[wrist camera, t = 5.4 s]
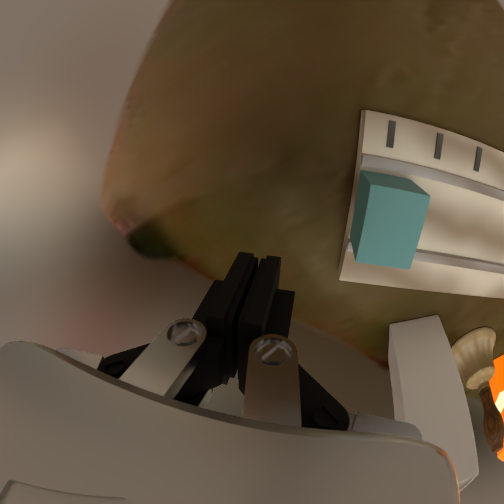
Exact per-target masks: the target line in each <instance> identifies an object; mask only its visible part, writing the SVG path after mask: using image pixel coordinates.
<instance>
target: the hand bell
mask: <svg viewBox="0 0 504 504" xmlns="http://www.w3.org/2000/svg"><path fill="white" fill-rule="evenodd" d="M495 338H496V336H495V332H494V330H493V329H491V328H489V327H481V328H477V329H475V330H472V331H470V332H468V333H467V334H465V335H463V336H462V337H461V338H459V339H458V340H457V341H456V342H455V343H454V344H453V345H452V347H451V350H452V353H453V356H454V359H455V362H456V365H457V368H458V372H459V373H460V375H461V376H462V378H463V380H464V382H465V384H466V386H467V388H469V389H478V392H479V396H480V399H481V402H482V405H483V409H484V421H483V422H484V423H483V424H484V433H485V437H486V440H487V442H488V444H489V446H490V447H491V449H492V451H493V453H496V452H498V451H500V450H501V449H503V441H504V422H503V418H502V415H501V413H500V411H499V410H498V409H497V407H496V405H495V403H494V400H493V396H492V392H491V387H490V384H489V381H490V380H491V379H492V377H493V376H494V374H495V366H494V362H493V355H492V351H493V347H494V344H495Z"/></svg>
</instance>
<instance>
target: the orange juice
mask: <svg viewBox="0 0 504 504" xmlns="http://www.w3.org/2000/svg"><path fill="white" fill-rule="evenodd" d="M493 362H494V366H495V374H494V376H493V377H492V379H491V380H490V381H489V384H490V387H491V392H492V396H493V400H494V403H495V405H496V407H497V409H498V410H499V411H500V413H501V415H502V418H503V422H504V355H503V356H501V357H499V358H497V359H495V360H493ZM497 453H498V458H499V459H501V460H502V461H503V462H504V441H503V449H501V450H500V451H498V452H497Z"/></svg>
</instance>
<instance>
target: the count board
mask: <svg viewBox="0 0 504 504" xmlns="http://www.w3.org/2000/svg"><path fill="white" fill-rule="evenodd" d="M360 170H364V171H370V172H375V173H381V174H386V175H391V176H396V177H401V178H406V179H411V180H412V181H413V182H414V183H416V184H417V185H418V186H419V187H420V188H422V189H423V190H424V191H425V192H426V193H427V194H429V195H430V201H429V205H428V209H427V213H426V217H425V221H424V225H423V228H422V232H421V235H420V239H419V242H418V246H417V249H416V252H415V255H414V258H413V261H412V264H411V267H410V270H409V269H402V268H394V267H387V266H379V265H372V264H364V263H357V262H355V259H354V254H353V249H352V244H351V240H350V231H351V226H352V220H353V215H354V209H355V203H356V197H357V191H358V184H359V177H360ZM338 271H339V280H342V281H350V282H358V283H366V284H374V285H383V286H391V287H400V288H408V289H417V290H426V291H435V292H444V293H454V294H464V295H473V296H484V297H494V298H504V153H503V152H501V151H499V150H497V149H494V148H492V147H490V146H487V145H485V144H483V143H480V142H478V141H475V140H473V139H470V138H467V137H465V136H462V135H459V134H456V133H453V132H450V131H447V130H444V129H441V128H438V127H435V126H431V125H428V124H424V123H421V122H417V121H413V120H410V119H406V118H402V117H397V116H393V115H389V114H384V113H379V112H374V111H369V110H361V120H360V132H359V142H358V151H357V160H356V168H355V176H354V183H353V190H352V196H351V203H350V209H349V215H348V221H347V226H346V232H345V237H344V242H343V247H342V252H341V257H340V262H339V266H338Z"/></svg>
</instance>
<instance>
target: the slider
mask: <svg viewBox="0 0 504 504" xmlns="http://www.w3.org/2000/svg"><path fill="white" fill-rule="evenodd" d="M429 201H430V195H429V194H427V193H426V192H425V191H424V190H423V189H422V188H420V187H419V186H418V185H417V184H416V183H414V182H413V181H412V180H411V179H406V178H401V177H396V176H391V175H386V174H381V173H375V172H370V171H364V170H360V177H359V184H358V191H357V197H356V203H355V209H354V215H353V220H352V226H351V231H350V240H351V244H352V249H353V254H354V259H355V262H357V263H364V264H372V265H379V266H387V267H394V268H402V269H409V270H410V267H411V264H412V261H413V258H414V255H415V252H416V249H417V246H418V242H419V239H420V235H421V232H422V228H423V225H424V221H425V217H426V213H427V209H428V205H429Z"/></svg>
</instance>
